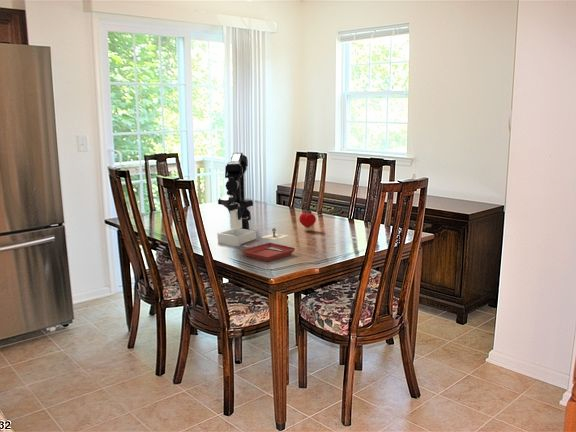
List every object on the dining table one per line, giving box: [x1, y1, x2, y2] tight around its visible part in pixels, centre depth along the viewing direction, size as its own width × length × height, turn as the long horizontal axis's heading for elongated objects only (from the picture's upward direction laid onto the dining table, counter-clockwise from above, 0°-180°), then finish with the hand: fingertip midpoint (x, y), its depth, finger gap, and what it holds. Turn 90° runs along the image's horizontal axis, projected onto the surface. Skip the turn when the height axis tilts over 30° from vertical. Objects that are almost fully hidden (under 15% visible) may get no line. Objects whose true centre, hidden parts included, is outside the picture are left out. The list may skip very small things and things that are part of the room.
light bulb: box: [298, 212, 317, 232], centre depth 298 cm, size 9×7×10 cm
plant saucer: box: [241, 242, 296, 262], centre depth 257 cm, size 18×18×3 cm
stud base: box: [260, 227, 289, 241], centre depth 287 cm, size 10×10×5 cm
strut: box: [229, 209, 242, 229], centre depth 281 cm, size 4×4×9 cm
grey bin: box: [216, 228, 257, 247], centre depth 282 cm, size 14×14×5 cm
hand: (236, 219), depth 281 cm, fingers closed on strut, 4 cm apart
